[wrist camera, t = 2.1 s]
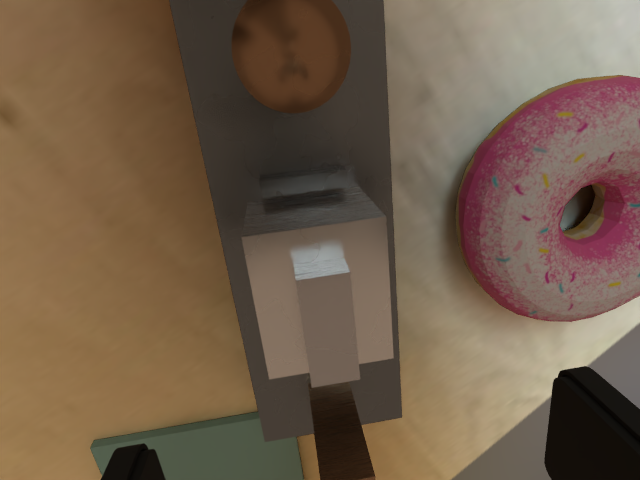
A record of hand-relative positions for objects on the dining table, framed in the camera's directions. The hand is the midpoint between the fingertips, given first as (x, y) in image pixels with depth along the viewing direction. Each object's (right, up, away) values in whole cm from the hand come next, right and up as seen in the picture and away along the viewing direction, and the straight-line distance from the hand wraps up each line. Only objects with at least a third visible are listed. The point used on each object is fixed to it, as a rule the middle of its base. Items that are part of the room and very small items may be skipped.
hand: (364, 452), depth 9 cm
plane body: (-2, +6, +13) cm, 15 cm away
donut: (+13, +8, +15) cm, 21 cm away
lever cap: (-1, +4, +10) cm, 11 cm away
